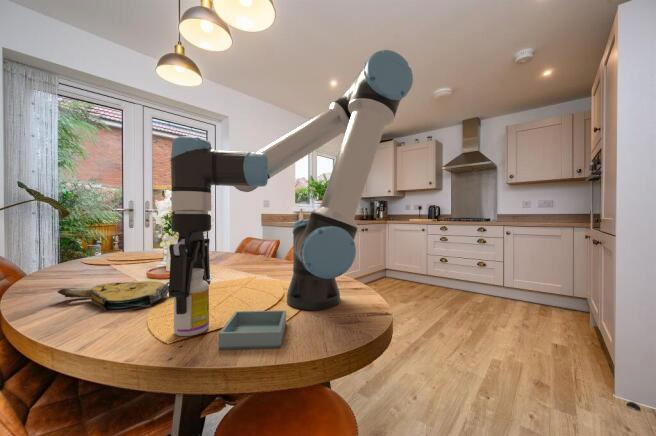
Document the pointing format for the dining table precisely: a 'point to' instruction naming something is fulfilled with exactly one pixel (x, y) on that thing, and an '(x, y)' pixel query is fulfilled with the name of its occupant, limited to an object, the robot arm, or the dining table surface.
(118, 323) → the dining table surface
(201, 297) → the supplement bottle
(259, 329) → the tray
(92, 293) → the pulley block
